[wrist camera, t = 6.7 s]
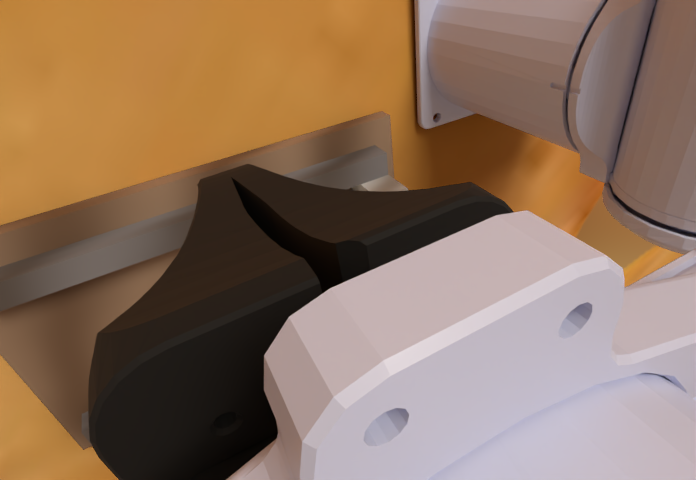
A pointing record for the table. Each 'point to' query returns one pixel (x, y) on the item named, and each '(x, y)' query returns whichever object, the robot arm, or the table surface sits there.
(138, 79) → the table surface
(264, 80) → the table surface
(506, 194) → the table surface
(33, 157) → the table surface
